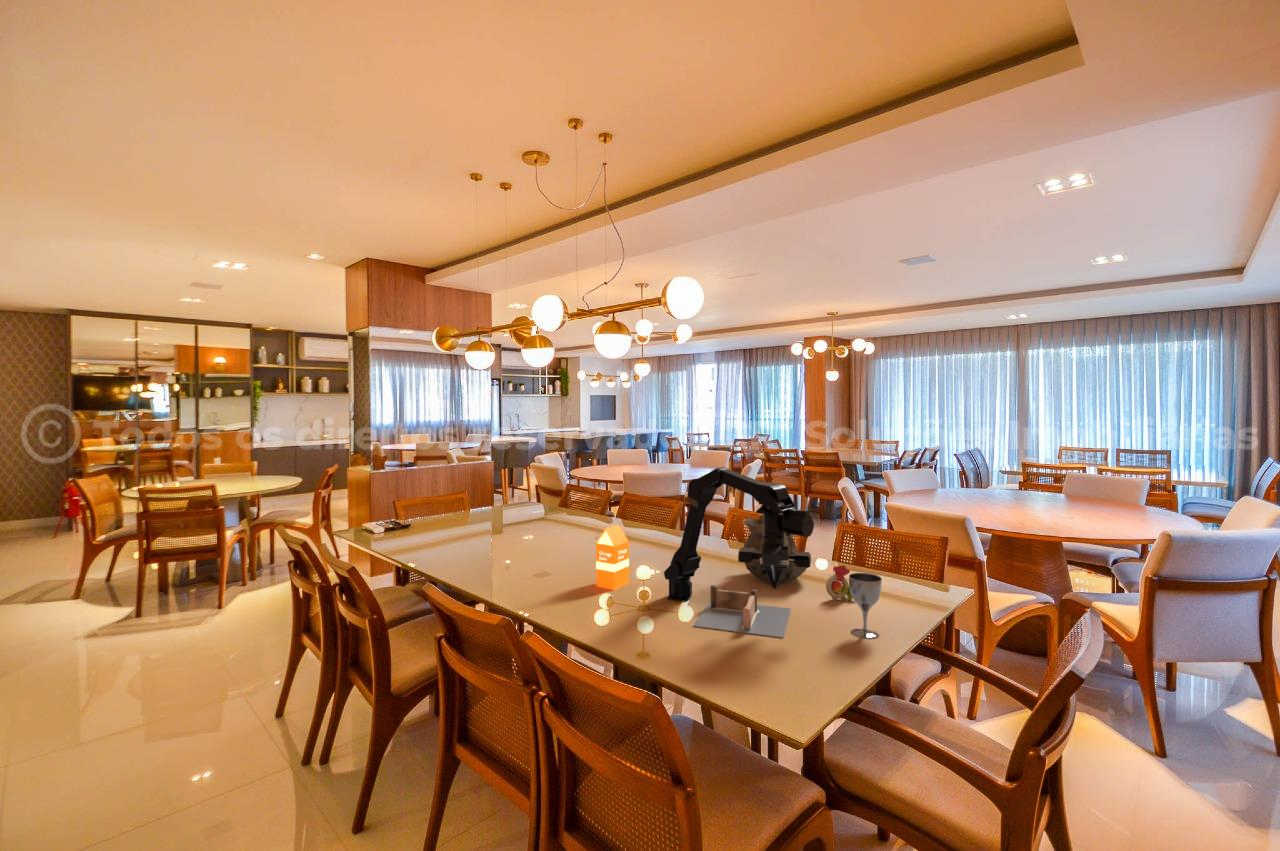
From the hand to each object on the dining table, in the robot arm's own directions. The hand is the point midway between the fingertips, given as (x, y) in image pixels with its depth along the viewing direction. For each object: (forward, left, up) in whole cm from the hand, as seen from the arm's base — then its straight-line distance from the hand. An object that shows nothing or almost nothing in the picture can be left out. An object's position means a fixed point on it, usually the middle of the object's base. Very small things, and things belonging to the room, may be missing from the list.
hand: (774, 588), depth 151 cm
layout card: (-9, +5, -11) cm, 15 cm away
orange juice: (-56, +21, -11) cm, 61 cm away
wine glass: (+23, +4, -11) cm, 26 cm away
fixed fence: (-13, +10, -11) cm, 20 cm away
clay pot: (-5, +44, -11) cm, 46 cm away
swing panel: (-7, +2, -10) cm, 12 cm away
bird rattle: (+17, +30, -11) cm, 36 cm away
